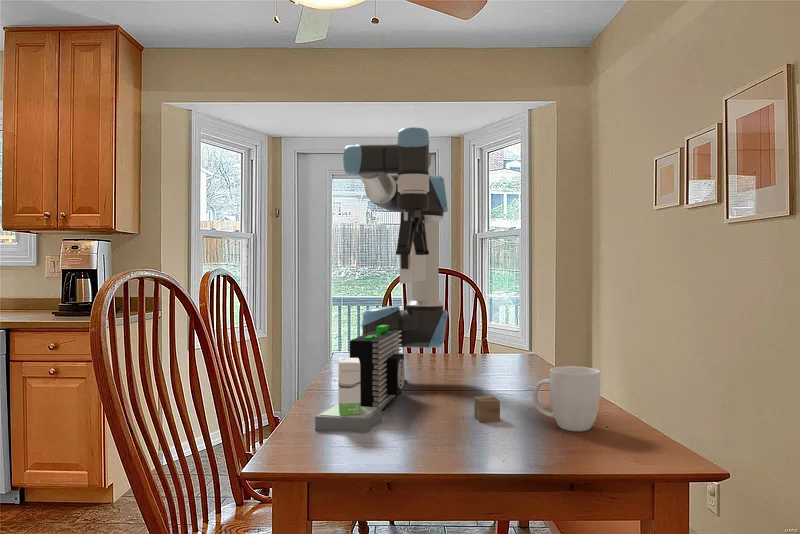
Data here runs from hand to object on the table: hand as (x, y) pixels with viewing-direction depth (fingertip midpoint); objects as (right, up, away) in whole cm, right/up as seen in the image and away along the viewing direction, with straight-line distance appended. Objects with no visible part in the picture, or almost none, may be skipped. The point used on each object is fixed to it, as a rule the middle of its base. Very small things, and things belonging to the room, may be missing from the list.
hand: (413, 282), depth 157 cm
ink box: (-15, -30, -7) cm, 34 cm away
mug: (+35, -33, -9) cm, 49 cm away
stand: (-15, -33, -7) cm, 36 cm away
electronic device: (-8, -33, +16) cm, 37 cm away
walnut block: (+17, -33, -2) cm, 37 cm away
